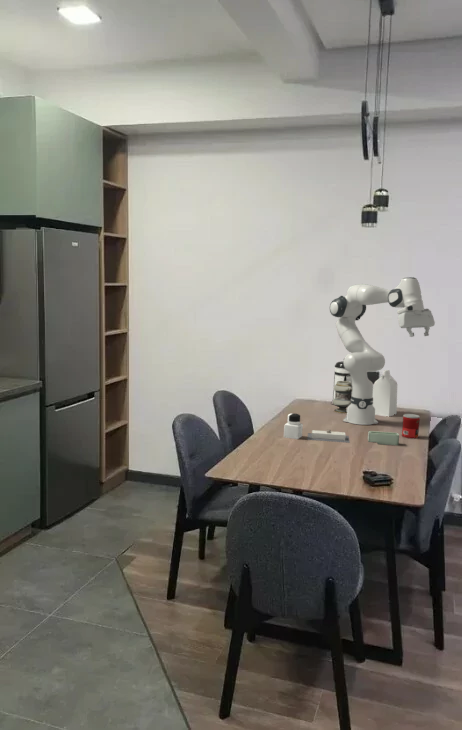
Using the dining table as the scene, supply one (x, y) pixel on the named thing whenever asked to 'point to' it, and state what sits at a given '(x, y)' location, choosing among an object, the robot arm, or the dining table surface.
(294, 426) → the medicine bottle
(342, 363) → the coffee press
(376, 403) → the milk
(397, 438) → the pale green open box
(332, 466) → the dining table surface
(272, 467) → the dining table surface
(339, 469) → the dining table surface
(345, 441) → the mat
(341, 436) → the lid
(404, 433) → the canned food
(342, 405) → the apothecary jar
